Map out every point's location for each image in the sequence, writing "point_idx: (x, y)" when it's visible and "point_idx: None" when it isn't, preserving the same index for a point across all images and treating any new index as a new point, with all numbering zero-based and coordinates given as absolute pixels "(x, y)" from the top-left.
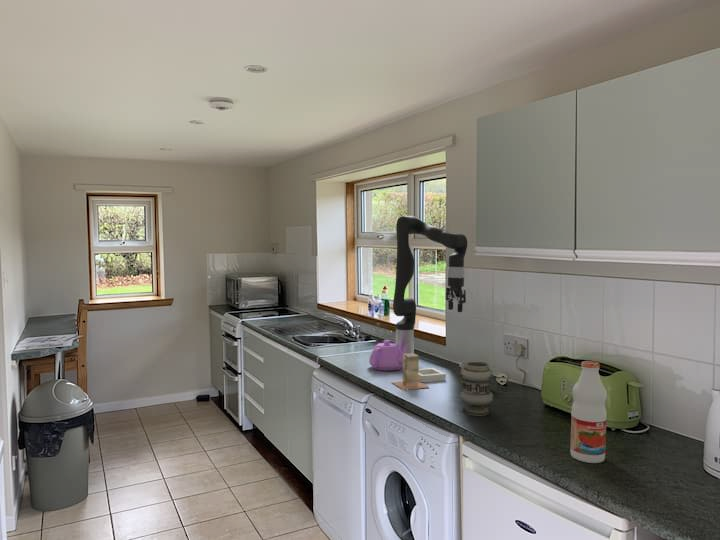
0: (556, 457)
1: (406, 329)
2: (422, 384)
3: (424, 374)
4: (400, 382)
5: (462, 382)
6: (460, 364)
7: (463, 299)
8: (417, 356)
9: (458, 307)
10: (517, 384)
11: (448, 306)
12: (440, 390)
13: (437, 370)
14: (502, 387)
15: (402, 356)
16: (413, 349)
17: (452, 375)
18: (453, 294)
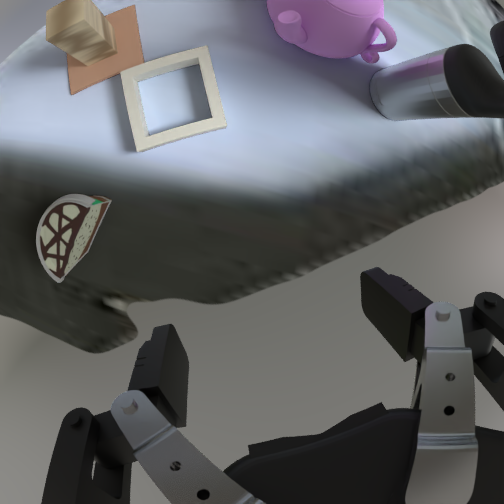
0: None
1: (445, 67)
2: (95, 77)
3: (206, 94)
4: (126, 23)
5: (99, 196)
6: (70, 197)
7: (122, 478)
8: (47, 37)
9: (146, 359)
10: (115, 335)
11: (391, 278)
12: (52, 124)
13: (187, 132)
14: (83, 292)
15: (276, 21)
16: (409, 114)
17: (205, 188)
18: (260, 501)
